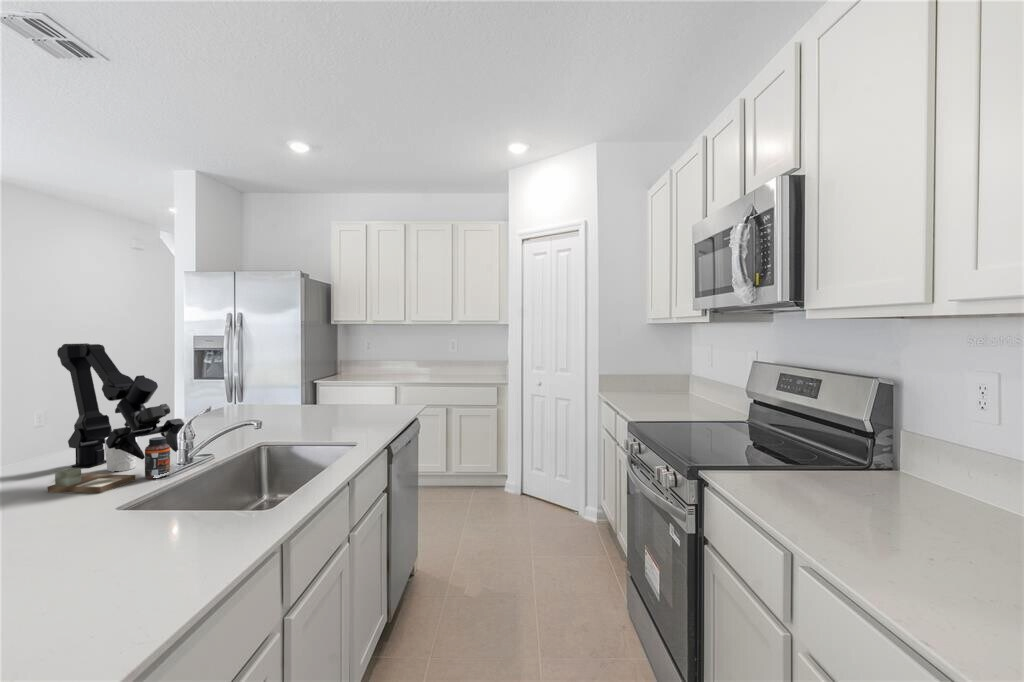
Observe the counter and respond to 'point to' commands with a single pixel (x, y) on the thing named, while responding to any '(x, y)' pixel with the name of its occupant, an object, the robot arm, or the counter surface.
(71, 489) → the board
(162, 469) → the supplement bottle
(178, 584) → the counter surface
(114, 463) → the white cup
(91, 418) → the robot arm
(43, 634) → the counter surface
